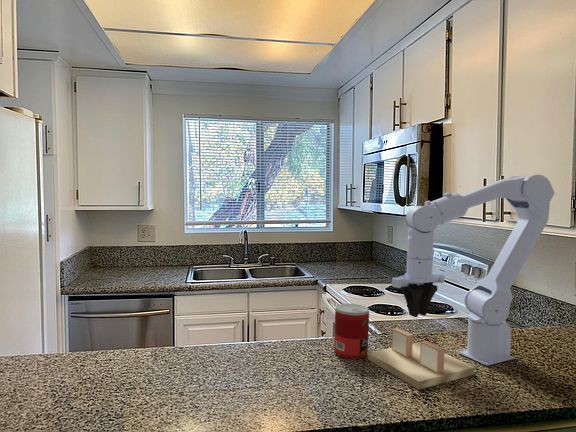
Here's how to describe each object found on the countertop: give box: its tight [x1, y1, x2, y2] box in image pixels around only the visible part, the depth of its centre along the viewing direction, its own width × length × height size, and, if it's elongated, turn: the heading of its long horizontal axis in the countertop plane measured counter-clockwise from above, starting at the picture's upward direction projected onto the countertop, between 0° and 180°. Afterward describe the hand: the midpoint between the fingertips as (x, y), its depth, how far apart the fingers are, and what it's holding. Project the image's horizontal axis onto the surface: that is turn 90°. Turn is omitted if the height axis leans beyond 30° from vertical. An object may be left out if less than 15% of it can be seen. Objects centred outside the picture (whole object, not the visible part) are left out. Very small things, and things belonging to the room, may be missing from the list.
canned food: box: [333, 303, 370, 360], centre depth 98 cm, size 8×8×11 cm
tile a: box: [391, 327, 414, 357], centre depth 94 cm, size 2×5×5 cm, turn 27°
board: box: [367, 341, 476, 391], centre depth 91 cm, size 16×16×2 cm
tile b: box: [420, 340, 445, 374], centre depth 86 cm, size 2×5×5 cm, turn 27°
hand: (417, 315), depth 96 cm, fingers open, 2 cm apart
